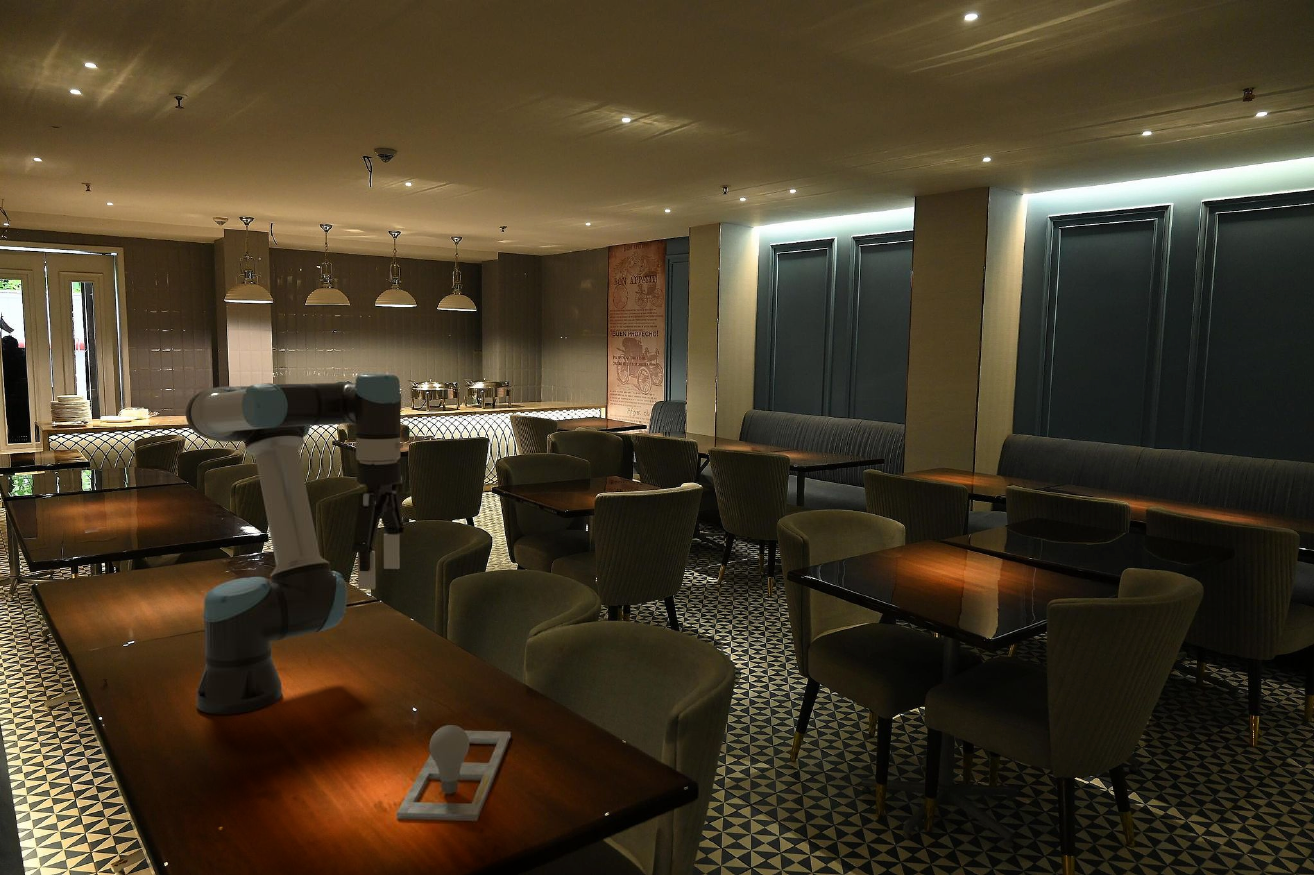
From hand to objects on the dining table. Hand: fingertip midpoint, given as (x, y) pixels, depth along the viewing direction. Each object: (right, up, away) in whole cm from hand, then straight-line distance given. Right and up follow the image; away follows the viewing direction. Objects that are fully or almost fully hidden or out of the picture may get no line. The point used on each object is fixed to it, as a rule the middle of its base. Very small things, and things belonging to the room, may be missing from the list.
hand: (379, 578), depth 155 cm
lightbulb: (+17, -31, -19) cm, 40 cm away
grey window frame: (+17, -30, -13) cm, 37 cm away
